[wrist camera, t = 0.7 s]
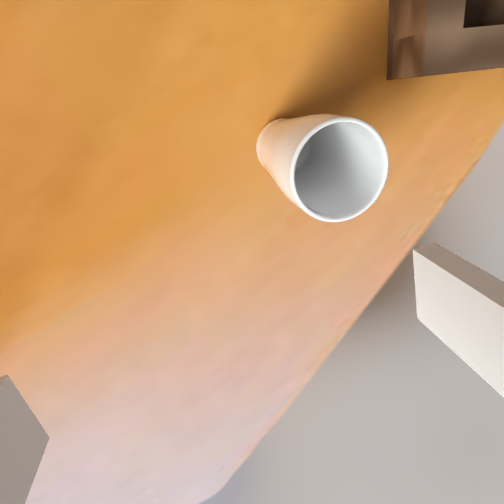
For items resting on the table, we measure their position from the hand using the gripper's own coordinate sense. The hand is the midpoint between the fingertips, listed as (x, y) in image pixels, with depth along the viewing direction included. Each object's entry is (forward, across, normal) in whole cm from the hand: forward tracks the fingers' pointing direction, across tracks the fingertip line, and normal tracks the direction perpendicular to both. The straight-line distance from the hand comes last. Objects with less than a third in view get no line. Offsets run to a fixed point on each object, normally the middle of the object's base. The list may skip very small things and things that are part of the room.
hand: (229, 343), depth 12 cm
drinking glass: (+28, +9, +1) cm, 29 cm away
